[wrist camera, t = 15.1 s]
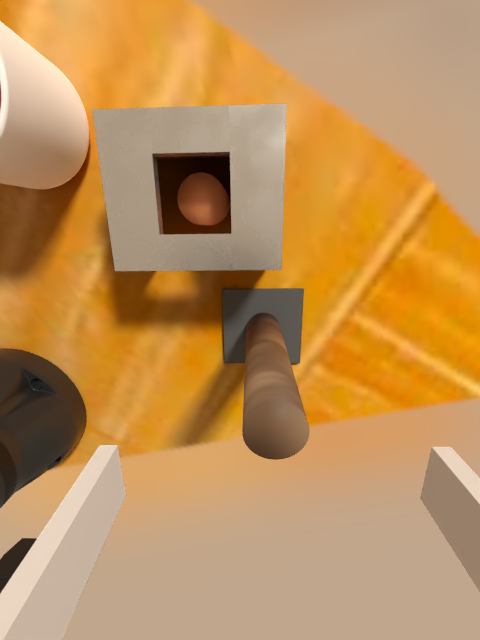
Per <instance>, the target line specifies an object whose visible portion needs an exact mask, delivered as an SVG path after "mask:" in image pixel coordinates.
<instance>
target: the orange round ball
mask: <svg viewBox="0 0 480 640" xmlns="http://www.w3.org/2000/svg"><path fill="white" fill-rule="evenodd" d="M177 201H178V206H179V209H180V211H181V213H182V214H183V216H184V217H185V218H186V219H187V220H189V221H190V222H192V223H194V224H197V225H215V224H218V223H220V222H221V221H223V220H224V219H225V217H226V216H227V214H228V212H229V208H230V200H229V196H228V194H227V192H226V190H225V189H224V187H223V186H222V184H221V183H220V182H219V181H218V180H217V179H216V178H215V177H214V176H212V175H210V174H207V173H194V174H192V175H190V176H188V177H187V178H186V179H185V180H184V181H183V182H182V183H181V185H180V187H179V190H178V195H177Z"/></svg>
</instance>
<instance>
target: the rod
mask: <svg viewBox="0 0 480 640" xmlns="http://www.w3.org/2000/svg"><path fill="white" fill-rule="evenodd" d="M308 437H309V425H308V422H307V418H306V415H305V411H304V408H303V404H302V401H301V398H300V394H299V391H298V387H297V384H296V380H295V377H294V373H293V370H292V366H291V363H290V360H289V356H288V353H287V349H286V346H285V342H284V339H283V335H282V332H281V328H280V325H279V322H278V320H277V319H276V318H275V317H274V316H273V315H271V314H269V313H258V314H256V315H254V316H253V317H251V318H250V320H249V321H248V324H247V332H246V357H245V382H244V407H243V438H244V441H245V443H246V445H247V446H248V448H249V449H250V450H251V451H252V452H254V453H255V454H257V455H259V456H261V457H263V458H267V459H284V458H288V457H291V456H293V455H295V454H296V453H298V452H299V451H300V450H301V449H302V448H303V447H304V446H305V444H306V442H307V440H308Z"/></svg>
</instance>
